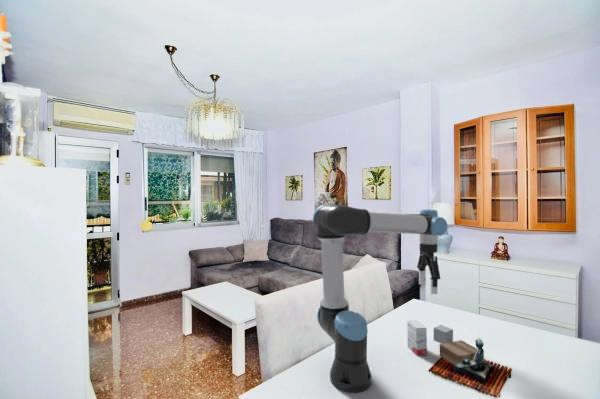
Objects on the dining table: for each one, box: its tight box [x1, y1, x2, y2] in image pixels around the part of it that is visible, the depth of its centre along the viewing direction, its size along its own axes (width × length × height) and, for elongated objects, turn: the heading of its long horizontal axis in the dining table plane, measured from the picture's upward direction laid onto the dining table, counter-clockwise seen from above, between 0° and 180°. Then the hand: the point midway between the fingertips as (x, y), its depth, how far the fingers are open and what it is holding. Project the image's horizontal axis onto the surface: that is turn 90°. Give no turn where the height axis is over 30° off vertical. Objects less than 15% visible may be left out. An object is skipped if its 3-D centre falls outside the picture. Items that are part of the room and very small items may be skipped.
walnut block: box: [439, 339, 479, 366], centre depth 125 cm, size 12×10×5 cm
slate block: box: [433, 324, 454, 344], centre depth 141 cm, size 6×6×6 cm
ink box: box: [406, 319, 428, 357], centre depth 132 cm, size 9×5×12 cm, turn 8°
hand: (427, 289), depth 138 cm, fingers open, 13 cm apart
